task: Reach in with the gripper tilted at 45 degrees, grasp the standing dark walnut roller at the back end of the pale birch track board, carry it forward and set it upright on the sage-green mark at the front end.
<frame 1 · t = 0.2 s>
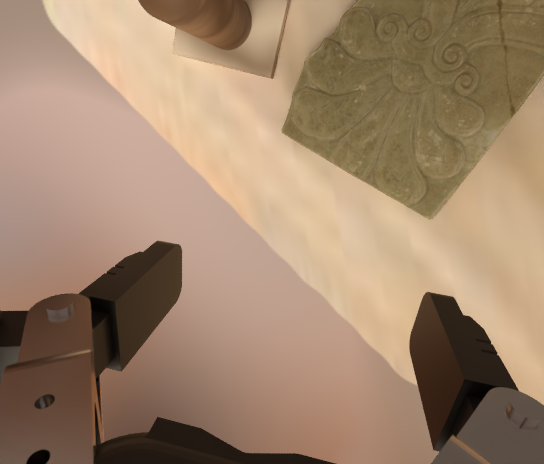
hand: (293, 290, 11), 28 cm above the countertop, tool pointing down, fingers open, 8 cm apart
walnut roller: (227, 22, 35), point 1 cm above the countertop, touching birch track board
decorative tile: (405, 84, 34), on the countertop
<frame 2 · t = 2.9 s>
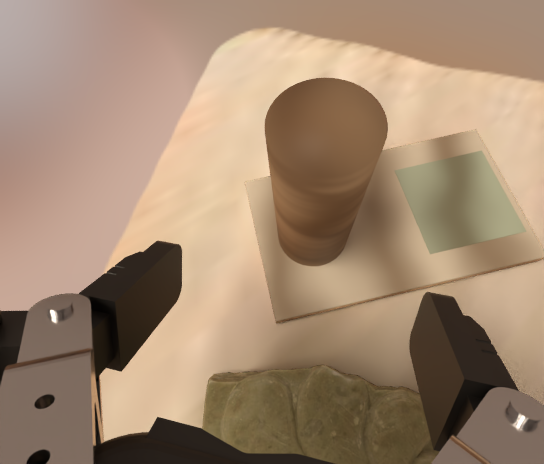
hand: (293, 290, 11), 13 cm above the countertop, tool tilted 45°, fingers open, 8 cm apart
walnut roller: (312, 233, 25), point 1 cm above the countertop, touching birch track board
birch track board: (382, 221, 26), on the countertop
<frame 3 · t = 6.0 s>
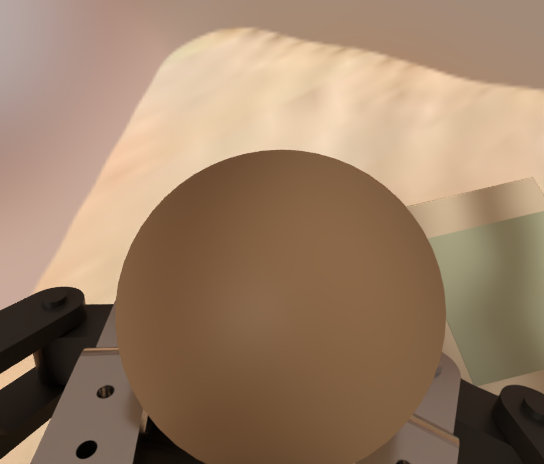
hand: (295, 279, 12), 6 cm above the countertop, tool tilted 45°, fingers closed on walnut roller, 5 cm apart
walnut roller: (289, 345, 16), point 1 cm above the countertop, touching birch track board, gripper
birch track board: (395, 321, 18), on the countertop
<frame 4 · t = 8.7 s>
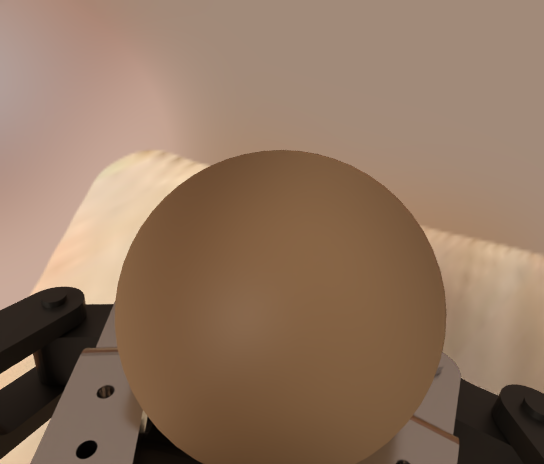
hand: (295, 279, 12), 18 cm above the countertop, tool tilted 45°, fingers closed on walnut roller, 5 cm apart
walnut roller: (289, 345, 16), point 13 cm above the countertop, touching gripper
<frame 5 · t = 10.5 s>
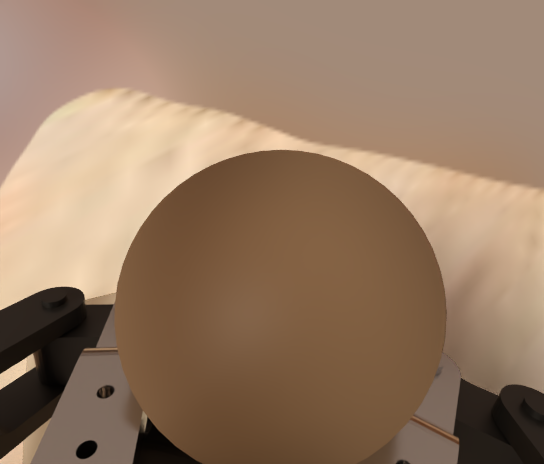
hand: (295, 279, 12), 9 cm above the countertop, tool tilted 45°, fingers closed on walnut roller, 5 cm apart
walnut roller: (289, 345, 16), point 4 cm above the countertop, touching gripper
birch track board: (200, 371, 20), on the countertop
when the fingers open (8 cm above the countertop, at t = 11.8 s): walnut roller drops 1 cm, resting on birch track board.
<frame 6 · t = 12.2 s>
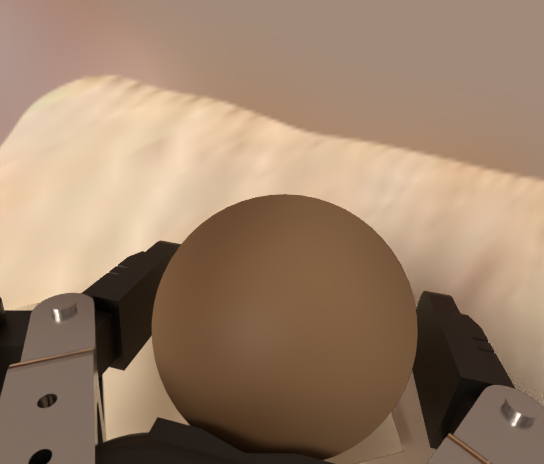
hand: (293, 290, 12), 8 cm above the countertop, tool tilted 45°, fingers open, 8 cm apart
walnut roller: (289, 351, 18), point 1 cm above the countertop, touching birch track board
birch track board: (188, 374, 19), on the countertop
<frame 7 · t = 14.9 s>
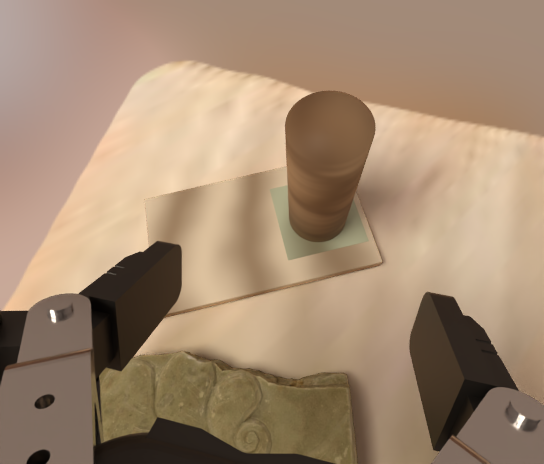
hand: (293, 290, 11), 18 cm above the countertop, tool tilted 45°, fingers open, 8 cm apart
walnut roller: (317, 215, 31), point 1 cm above the countertop, touching birch track board
birch track board: (257, 233, 31), on the countertop
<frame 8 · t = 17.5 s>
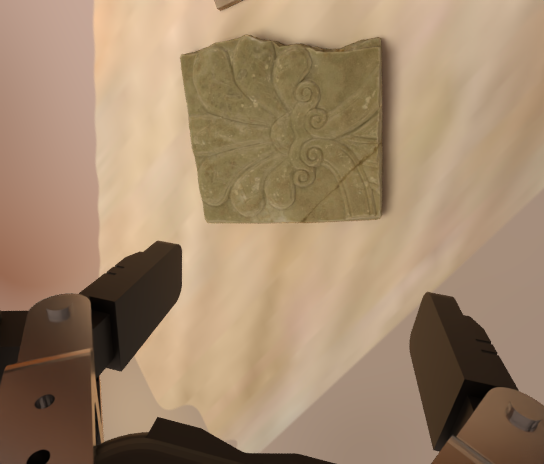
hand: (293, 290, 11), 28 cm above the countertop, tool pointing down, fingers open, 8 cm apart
decorative tile: (286, 133, 38), on the countertop
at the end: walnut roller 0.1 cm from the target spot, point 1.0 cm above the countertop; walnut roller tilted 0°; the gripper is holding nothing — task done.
